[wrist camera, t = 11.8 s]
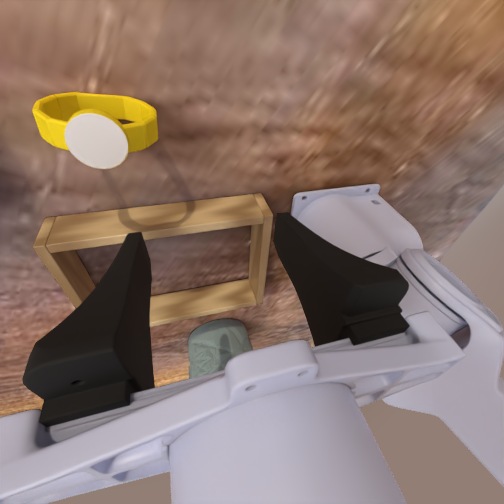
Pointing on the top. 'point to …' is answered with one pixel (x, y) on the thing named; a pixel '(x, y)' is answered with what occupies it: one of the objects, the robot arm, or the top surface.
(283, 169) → the top surface
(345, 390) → the robot arm
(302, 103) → the top surface
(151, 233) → the box
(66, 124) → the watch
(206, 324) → the green embossed cup
